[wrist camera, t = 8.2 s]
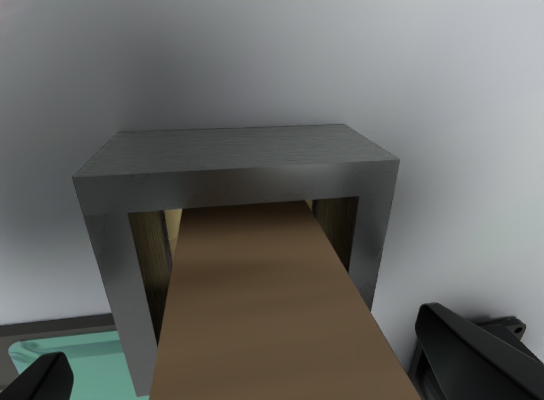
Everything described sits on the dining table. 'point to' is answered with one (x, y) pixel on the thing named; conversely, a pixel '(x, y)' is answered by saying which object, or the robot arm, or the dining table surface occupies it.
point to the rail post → (268, 314)
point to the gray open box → (223, 192)
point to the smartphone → (71, 355)
